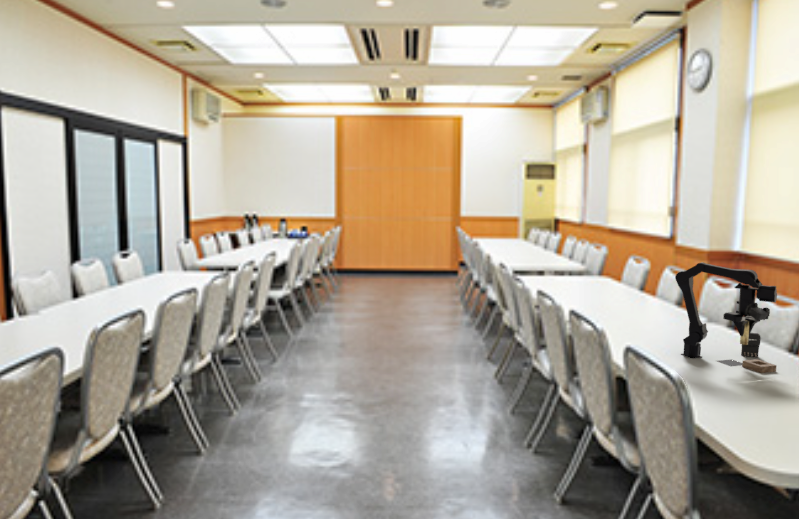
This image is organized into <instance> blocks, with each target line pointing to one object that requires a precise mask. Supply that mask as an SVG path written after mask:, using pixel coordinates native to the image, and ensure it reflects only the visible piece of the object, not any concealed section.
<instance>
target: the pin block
mask: <svg viewBox="0 0 799 519" xmlns="http://www.w3.org/2000/svg"><path fill="white" fill-rule="evenodd" d="M741 363H742V365H741V367H743V368H744V369H747V370H748V369H749V370H751V371H753V372H757V373H760V374H764V373H765V374H767V373H776V372H777V364H773V363H769V362H767V361H764V360H761V359H758V358H757V359H746V360H742V362H741Z"/></svg>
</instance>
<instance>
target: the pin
mask: <svg viewBox="0 0 799 519" xmlns="http://www.w3.org/2000/svg"><path fill="white" fill-rule="evenodd" d="M745 321H747V320H745ZM749 324H750V321H748V322H747V323H746V324H745V327H744V334H743V336H740V335H739V336H740V339H739V344H740V345H741V346H742V345H748V338H749Z"/></svg>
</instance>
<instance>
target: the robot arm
mask: <svg viewBox="0 0 799 519" xmlns="http://www.w3.org/2000/svg"><path fill="white" fill-rule="evenodd" d="M701 273H706V274H710V275H715V276H719V277H725V278H729V279H732V280H734V281H736V282H738V284H737V285H736V286H734V289H737V290H738V289H739V298H738V299H739V300H737V301H736V304H738V310H735V312H731V311H729V312H724V313H723V320H726V321H730V322H733V324H734V325H735V328H736V329H737V332H738V334H739V336H743V334H744V327H745V324H746V323H747V322H748V321H750V324H749V335H750V333H751V332H752V330H753V329H754V326H755V324H757V323H759V322H761V321H765V320H769V317H770V313H771V311H770V308H769V307H763V308H762V307H759V306H758V302H756V299H757V300H758V301H759V302H767V303H774V304H775V303H776V302H777V298H778V291H777V286H776V285H766V284H765V285H763V283H762V282H761V281H760V279H759V278H758V277H759V276H758V273H757V272H756V271H755V270H753V269H745V268H744V269H742V268H740V269H739V268H738V269H737V268H736V269H735V268H730V267H724V266H720V265H715V264H710V263H706V262H699V263H697V264H695V265H694V266H692V267H691V268H688V269H685V270H681V271H678V272H677V273H676V274H675V277H674V279H675V282H676V284H677V286H678V288H679V289H680V290H681V292H682V296H683V300H684V304H685V309H686V313H687V317H688V321H689V324H688V335H687V336H686V337H685V338H683V339H682V340H683V353H680V356H683V357H686V358H689V359H701V358H703V355H702V356H701V350H702V346H701V343H702V341H703V340H705V339H706V338H707V336H708V332H709V330H708V329H707V323H702V321H701V319H700V315H699V314H700V313H699V310H698V305H697V302H696V298H695V293H694V277H696V276H698V275H700V274H701ZM745 320H747V321H745Z"/></svg>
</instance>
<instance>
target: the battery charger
mask: <svg viewBox="0 0 799 519" xmlns="http://www.w3.org/2000/svg"><path fill="white" fill-rule="evenodd" d="M761 339H762V338H761V335H760V333H759V332H756V331H751V333H750V335H749V338H748V345H742V344H741V350H740V351H741V352H740V355H741V356H742V357H745V356H746V358H757V359H758V358H759V351H760V346H761Z"/></svg>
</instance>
